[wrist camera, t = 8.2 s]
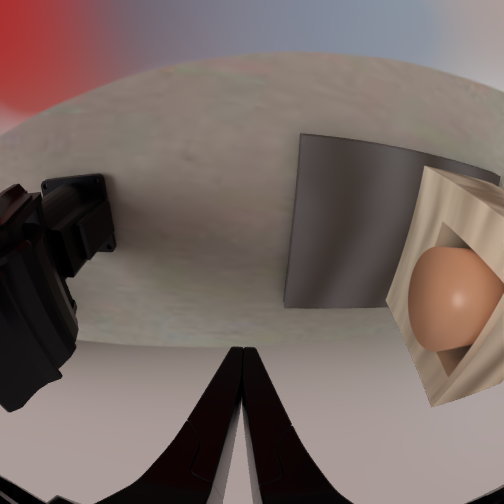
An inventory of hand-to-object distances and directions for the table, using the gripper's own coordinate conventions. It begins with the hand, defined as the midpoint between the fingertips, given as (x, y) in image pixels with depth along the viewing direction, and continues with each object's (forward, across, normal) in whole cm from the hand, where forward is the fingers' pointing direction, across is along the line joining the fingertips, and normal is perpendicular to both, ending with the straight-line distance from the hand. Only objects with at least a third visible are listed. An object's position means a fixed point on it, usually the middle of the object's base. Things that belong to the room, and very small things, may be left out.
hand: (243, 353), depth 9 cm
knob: (+7, -14, +1) cm, 16 cm away
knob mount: (+12, -12, +1) cm, 17 cm away
